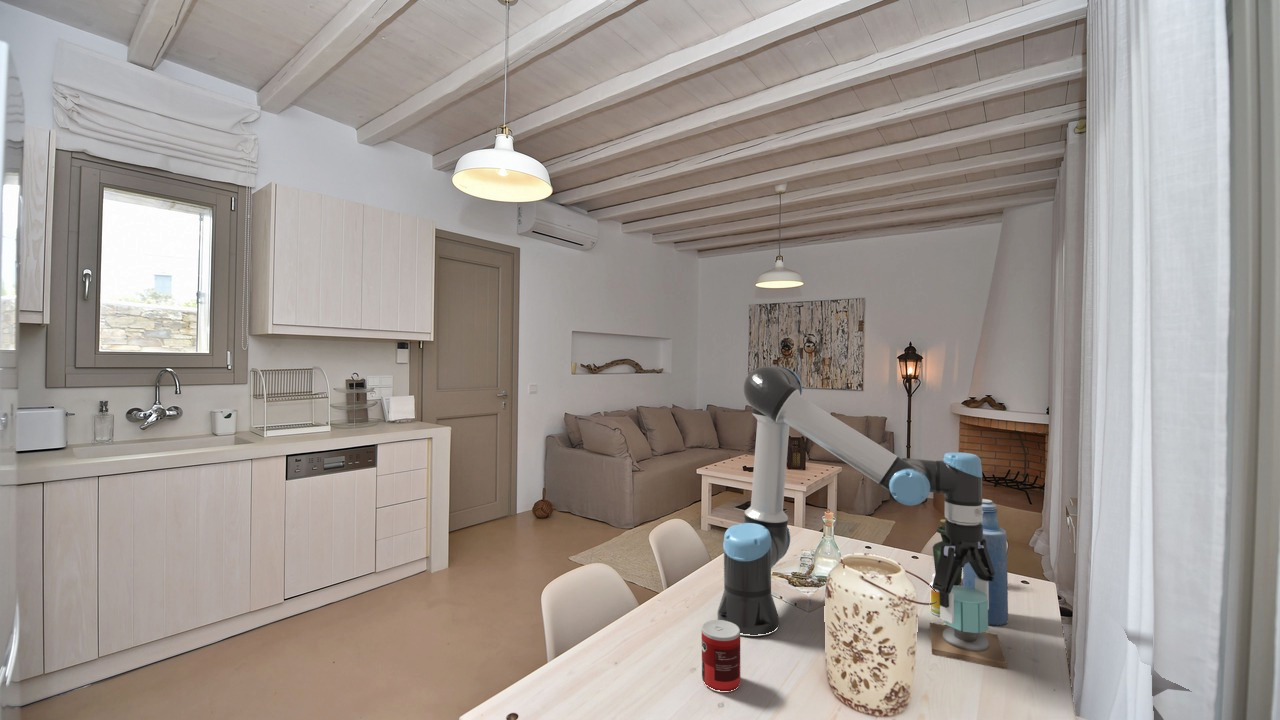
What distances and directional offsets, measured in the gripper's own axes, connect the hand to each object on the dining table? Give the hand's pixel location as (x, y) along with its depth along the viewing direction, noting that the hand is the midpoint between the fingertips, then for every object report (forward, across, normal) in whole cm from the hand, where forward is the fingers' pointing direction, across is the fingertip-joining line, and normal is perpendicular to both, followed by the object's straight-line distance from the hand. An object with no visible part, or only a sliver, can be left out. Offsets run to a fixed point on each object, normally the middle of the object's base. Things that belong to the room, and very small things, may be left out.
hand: (964, 614), depth 125 cm
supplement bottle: (+8, +12, +13) cm, 19 cm away
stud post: (+7, 0, 0) cm, 7 cm away
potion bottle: (+8, +34, +25) cm, 43 cm away
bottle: (+8, +19, +6) cm, 21 cm away
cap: (+2, 0, 0) cm, 2 cm away
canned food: (+8, -58, +16) cm, 60 cm away
